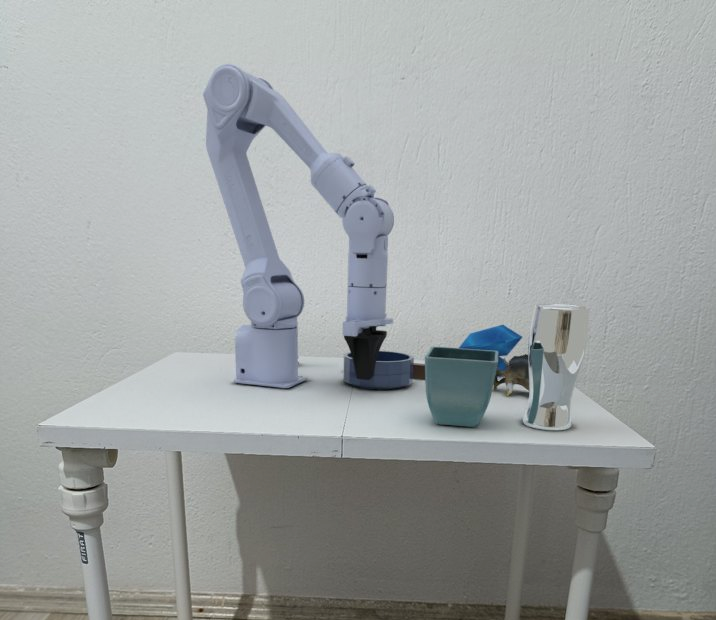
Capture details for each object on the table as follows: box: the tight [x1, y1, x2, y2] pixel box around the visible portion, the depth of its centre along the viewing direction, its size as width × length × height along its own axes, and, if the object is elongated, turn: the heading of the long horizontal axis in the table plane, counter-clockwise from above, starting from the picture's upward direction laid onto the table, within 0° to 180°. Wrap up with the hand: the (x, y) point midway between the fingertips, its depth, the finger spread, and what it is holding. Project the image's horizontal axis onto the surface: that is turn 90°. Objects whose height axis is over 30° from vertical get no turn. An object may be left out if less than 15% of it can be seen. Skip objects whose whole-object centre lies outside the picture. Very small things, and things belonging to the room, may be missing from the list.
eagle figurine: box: [492, 353, 529, 397], centre depth 103 cm, size 8×7×9 cm
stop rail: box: [413, 362, 426, 381], centre depth 115 cm, size 16×2×2 cm, turn 71°
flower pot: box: [424, 346, 499, 428], centre depth 85 cm, size 9×9×9 cm
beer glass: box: [522, 303, 590, 431], centre depth 84 cm, size 7×7×15 cm
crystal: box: [458, 324, 523, 377], centre depth 118 cm, size 7×9×12 cm
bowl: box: [342, 350, 415, 390], centre depth 107 cm, size 11×11×4 cm
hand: (364, 378), depth 101 cm, fingers closed
